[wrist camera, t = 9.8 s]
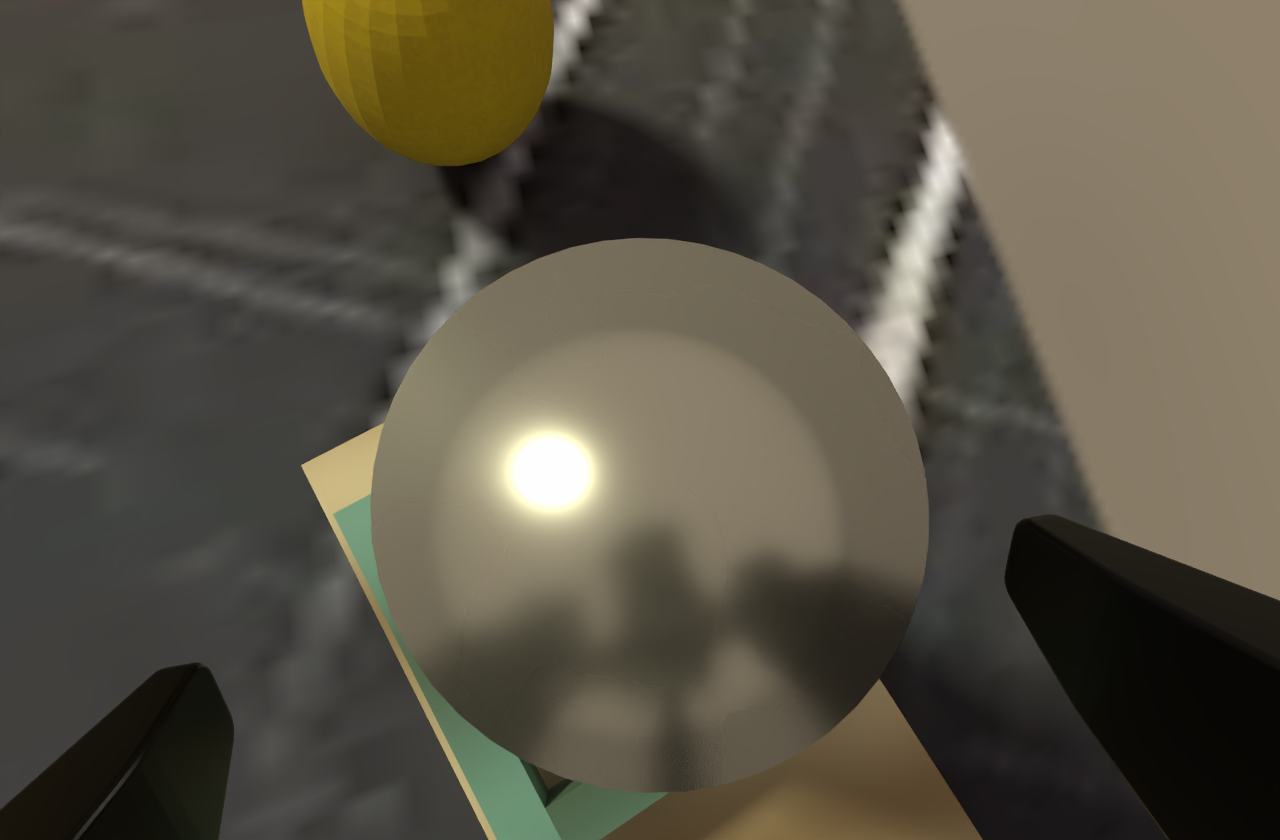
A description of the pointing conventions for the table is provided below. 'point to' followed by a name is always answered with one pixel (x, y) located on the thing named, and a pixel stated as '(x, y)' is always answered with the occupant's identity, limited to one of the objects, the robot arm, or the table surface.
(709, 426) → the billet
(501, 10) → the lemon
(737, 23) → the table surface
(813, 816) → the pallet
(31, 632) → the table surface
